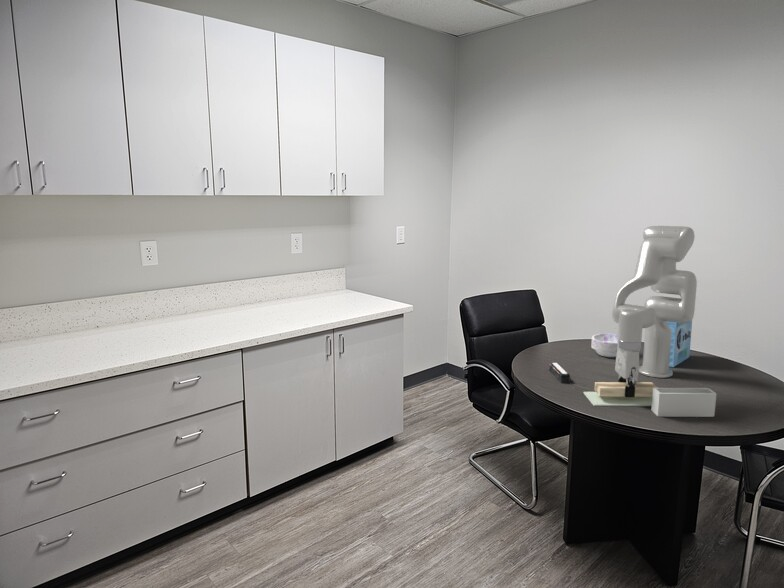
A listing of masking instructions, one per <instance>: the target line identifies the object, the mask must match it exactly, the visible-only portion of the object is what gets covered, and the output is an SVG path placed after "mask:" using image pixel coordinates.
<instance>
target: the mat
mask: <svg viewBox="0 0 784 588" xmlns="http://www.w3.org/2000/svg"><path fill="white" fill-rule="evenodd" d="M583 394H584V396H585V397H586V398H587V399H588V401H589V402H590V403H591V404H592V405H593V407H652V396H635V397H625V396H599V395H598V393H597V392H596V391H583Z"/></svg>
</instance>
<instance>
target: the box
mask: <svg viewBox="0 0 784 588" xmlns="http://www.w3.org/2000/svg"><path fill="white" fill-rule="evenodd" d="M716 401H717V393H716V392H715V391H714V390H712V389H710V388H709V387H658V388H653V394H652V406H650V407H651V409H650V410H651V412H652V413H653V414H655V416H656V417H678V418H679V417H681V418H682V417H686V418H687V417H690V418H691V417H693V418H695V417H696V418H697V417H704V418H705V417H707V418H708V417H709V418H710V417H715V415H716V414H715V413H716V403H717V402H716Z"/></svg>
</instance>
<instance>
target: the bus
mask: <svg viewBox="0 0 784 588" xmlns="http://www.w3.org/2000/svg"><path fill="white" fill-rule="evenodd" d="M548 371H550V373H551V374H552V375H553V376H554V377H555V378H556V379H557V380H558V381H559V382H560V384H570V383H571V382H570V381H571V380H570V378H571V375H570V374H569V372H568V371H567V370H566V369H564V368H563V367H562V366H561V365H560V364H559V362H549V368H548Z"/></svg>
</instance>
